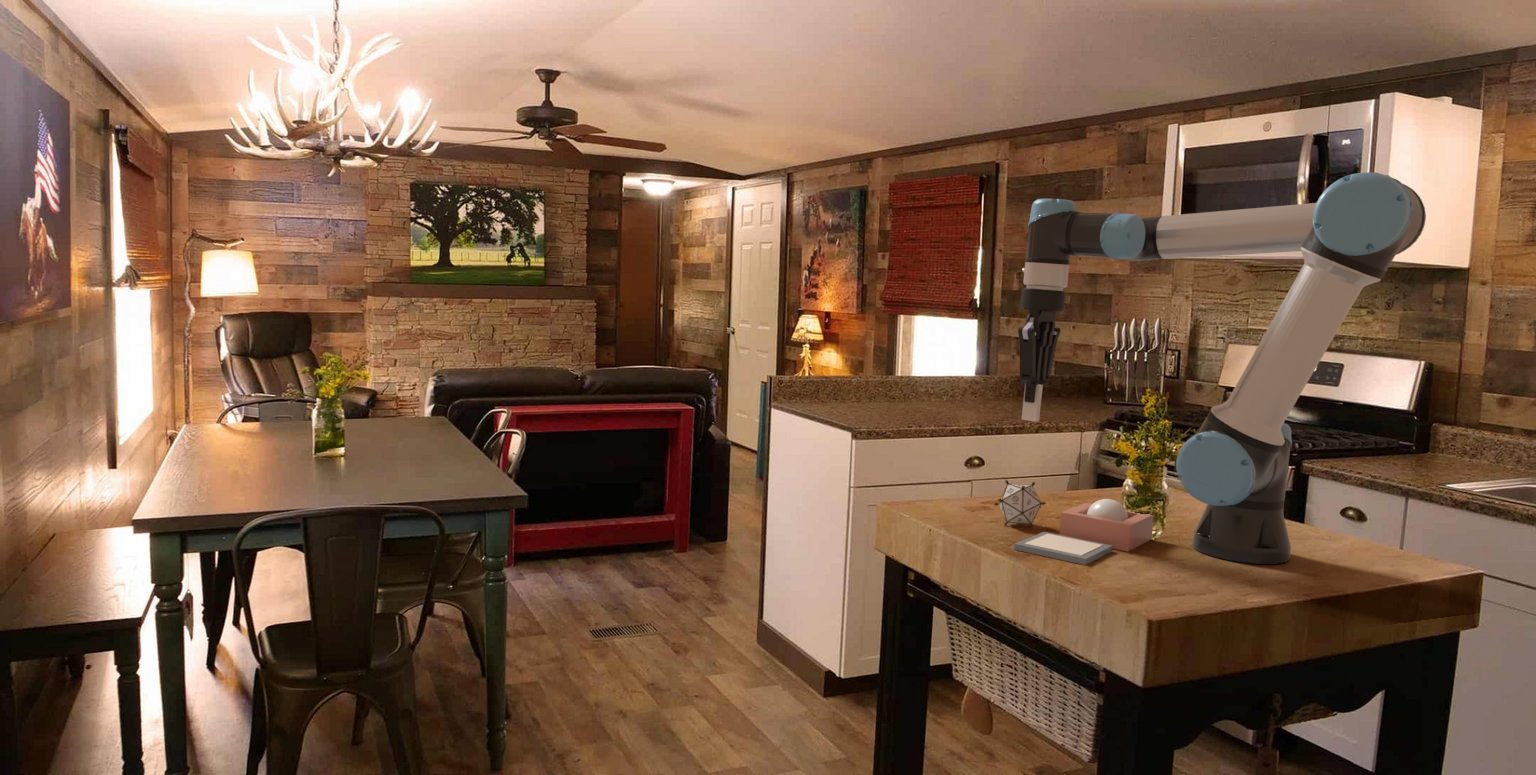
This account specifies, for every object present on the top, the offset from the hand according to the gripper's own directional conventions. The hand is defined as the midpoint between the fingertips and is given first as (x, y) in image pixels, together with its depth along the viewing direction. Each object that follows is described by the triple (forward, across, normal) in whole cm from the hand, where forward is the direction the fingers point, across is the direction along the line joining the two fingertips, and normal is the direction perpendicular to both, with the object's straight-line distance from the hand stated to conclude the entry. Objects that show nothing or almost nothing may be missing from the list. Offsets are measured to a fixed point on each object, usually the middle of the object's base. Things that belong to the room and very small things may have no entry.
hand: (1030, 420), depth 187 cm
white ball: (+20, -3, +15) cm, 25 cm away
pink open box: (+19, -3, +15) cm, 24 cm away
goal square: (+19, +11, +13) cm, 26 cm away
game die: (+20, 0, 0) cm, 20 cm away
